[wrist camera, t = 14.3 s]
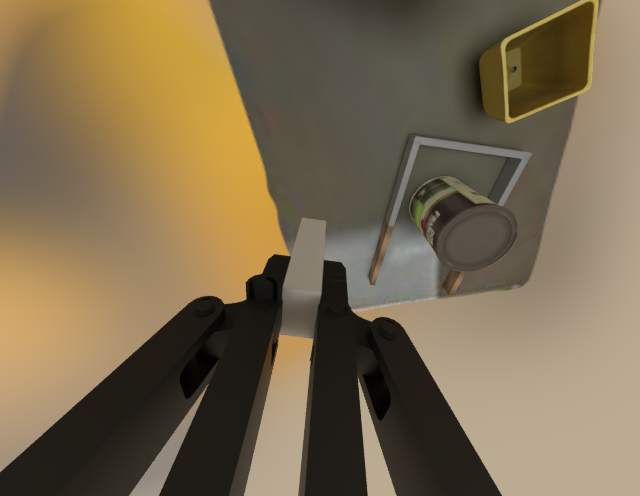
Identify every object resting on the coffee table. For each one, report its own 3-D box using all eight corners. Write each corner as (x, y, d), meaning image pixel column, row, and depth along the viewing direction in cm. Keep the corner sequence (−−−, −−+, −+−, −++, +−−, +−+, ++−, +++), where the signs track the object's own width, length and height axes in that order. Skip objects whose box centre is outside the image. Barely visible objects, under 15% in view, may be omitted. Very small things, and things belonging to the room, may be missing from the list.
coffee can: (407, 232, 47) (433, 275, 35) (409, 180, 42) (440, 210, 30) (463, 225, 46) (509, 268, 34) (471, 171, 41) (529, 199, 29)
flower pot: (462, 55, 33) (501, 39, 25) (534, 18, 31) (601, -11, 23) (470, 120, 37) (506, 125, 29) (534, 92, 35) (591, 89, 27)
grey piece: (409, 134, 38) (415, 136, 36) (519, 149, 38) (532, 152, 36) (385, 219, 46) (388, 225, 43) (476, 231, 46) (484, 238, 44)
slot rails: (385, 219, 46) (388, 225, 43) (476, 231, 46) (484, 238, 44) (368, 276, 53) (370, 284, 51) (447, 286, 53) (453, 295, 51)
